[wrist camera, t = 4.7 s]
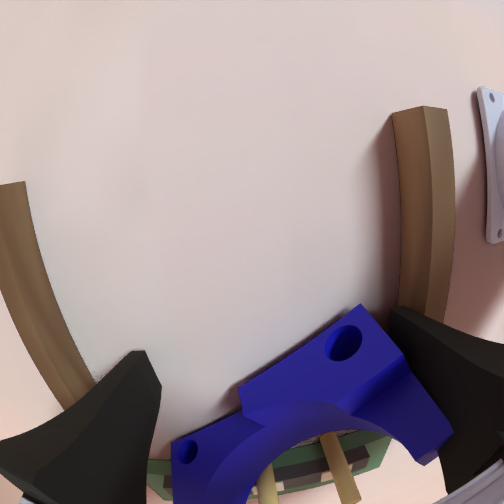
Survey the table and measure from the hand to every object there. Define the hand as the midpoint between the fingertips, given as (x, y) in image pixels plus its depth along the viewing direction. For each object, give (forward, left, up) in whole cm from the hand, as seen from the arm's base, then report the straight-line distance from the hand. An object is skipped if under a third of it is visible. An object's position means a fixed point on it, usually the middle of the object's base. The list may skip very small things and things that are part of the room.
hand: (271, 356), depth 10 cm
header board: (+1, +11, -1) cm, 11 cm away
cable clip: (0, +4, -1) cm, 4 cm away
